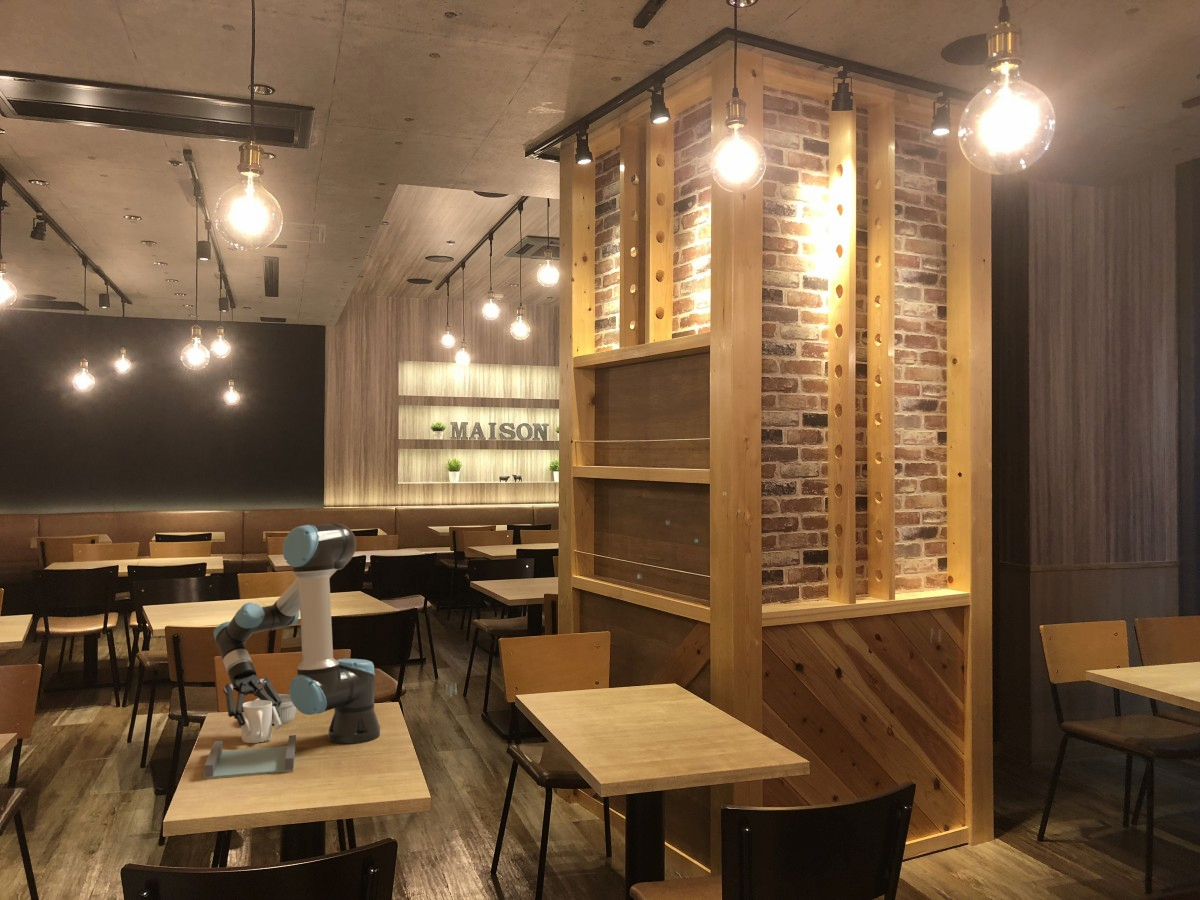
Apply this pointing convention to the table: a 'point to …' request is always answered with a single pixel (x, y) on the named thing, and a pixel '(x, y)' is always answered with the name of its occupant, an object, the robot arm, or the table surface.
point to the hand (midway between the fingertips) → (264, 730)
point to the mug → (258, 721)
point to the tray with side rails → (250, 760)
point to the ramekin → (285, 708)
